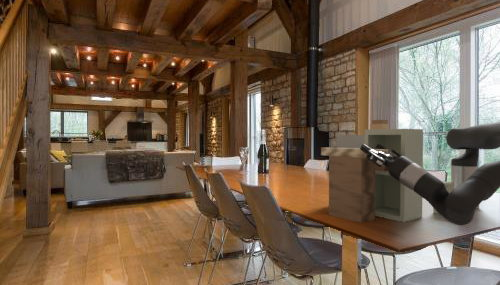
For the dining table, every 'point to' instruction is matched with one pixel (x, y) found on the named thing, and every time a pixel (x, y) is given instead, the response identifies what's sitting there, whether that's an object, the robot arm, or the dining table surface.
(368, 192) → the walnut block
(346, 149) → the birch strip
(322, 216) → the dining table surface
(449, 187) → the skincare box
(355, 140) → the folded grey card
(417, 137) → the rack
